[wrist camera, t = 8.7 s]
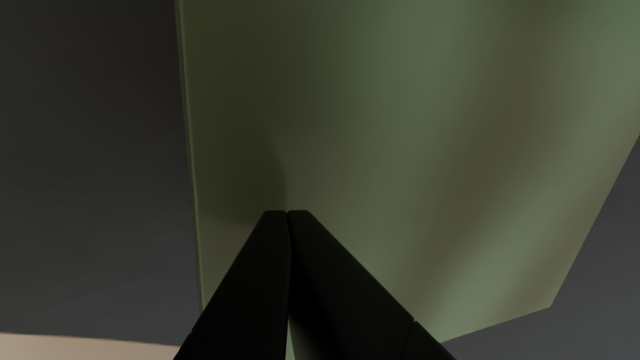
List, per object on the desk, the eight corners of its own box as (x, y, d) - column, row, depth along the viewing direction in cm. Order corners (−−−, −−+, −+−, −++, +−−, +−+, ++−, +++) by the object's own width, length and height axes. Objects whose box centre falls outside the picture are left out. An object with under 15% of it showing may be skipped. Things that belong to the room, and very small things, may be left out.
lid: (205, 391, 12) (211, 418, 11) (157, -200, 5) (162, -213, 5) (534, 292, 17) (550, 307, 16) (720, -96, 10) (759, -95, 9)
